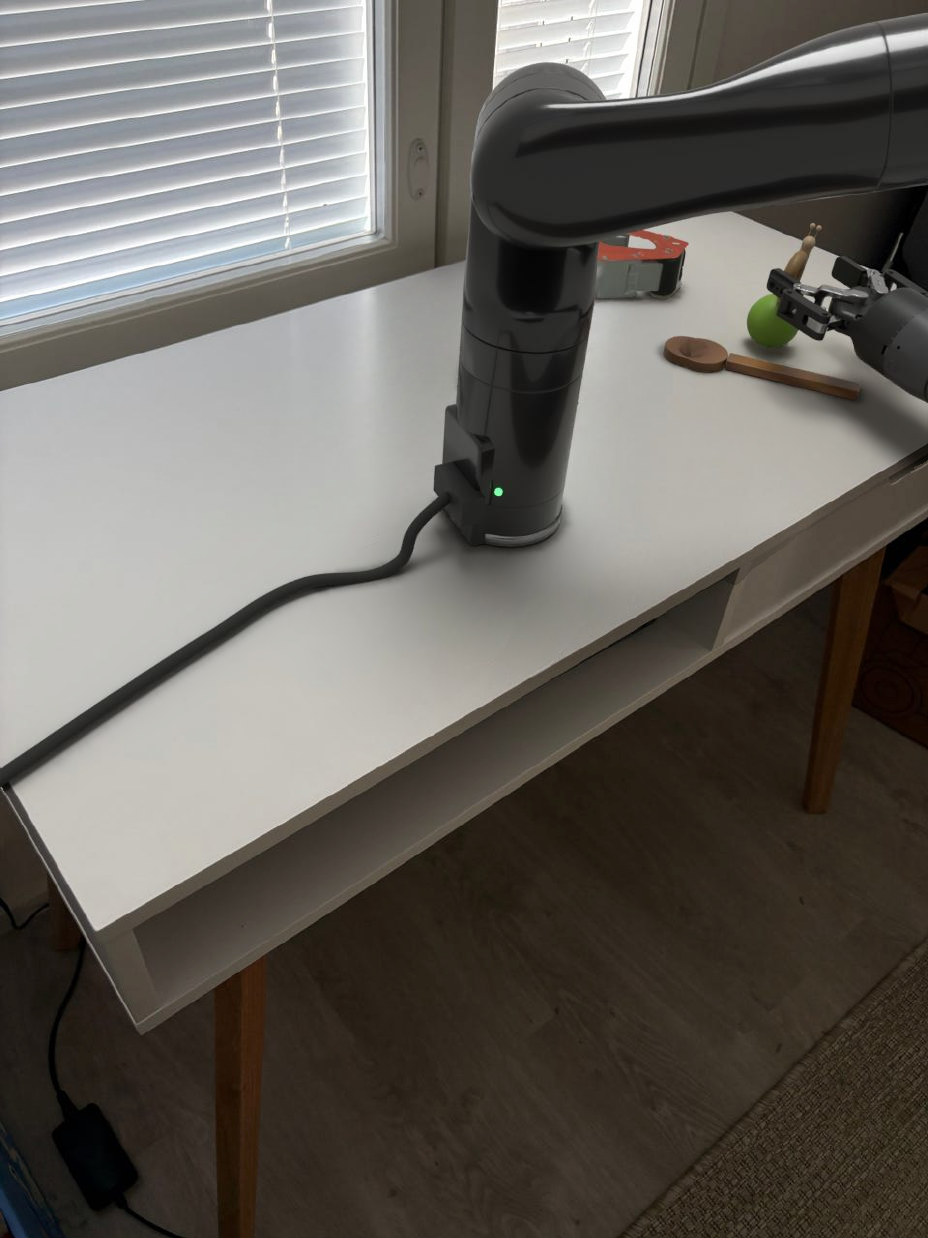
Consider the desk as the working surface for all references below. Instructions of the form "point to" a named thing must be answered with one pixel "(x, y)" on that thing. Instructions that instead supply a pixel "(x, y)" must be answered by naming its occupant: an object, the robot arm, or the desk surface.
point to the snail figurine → (763, 313)
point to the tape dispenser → (639, 266)
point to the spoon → (751, 366)
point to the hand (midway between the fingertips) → (803, 271)
